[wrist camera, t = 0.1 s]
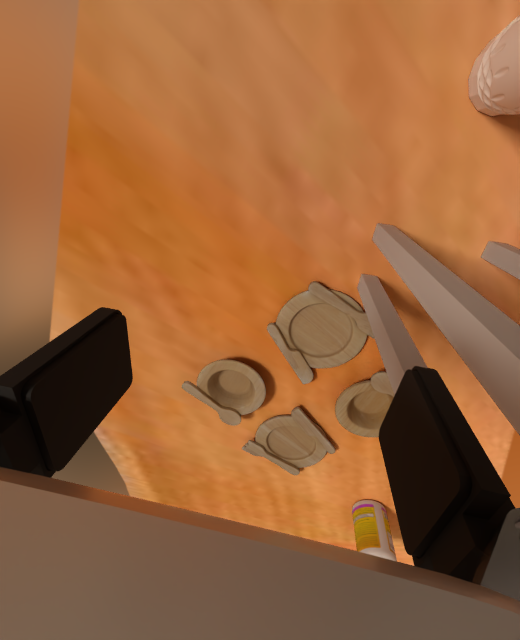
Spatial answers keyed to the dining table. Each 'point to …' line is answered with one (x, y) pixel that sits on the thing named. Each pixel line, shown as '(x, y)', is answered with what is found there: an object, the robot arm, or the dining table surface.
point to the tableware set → (302, 353)
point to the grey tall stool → (447, 317)
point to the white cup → (498, 74)
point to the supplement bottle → (372, 529)
